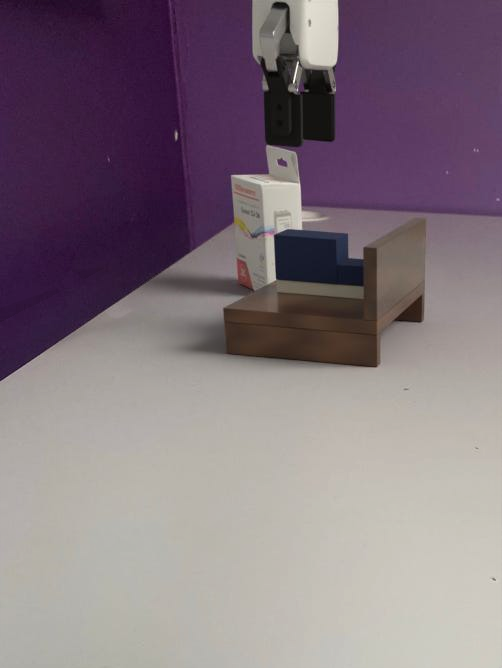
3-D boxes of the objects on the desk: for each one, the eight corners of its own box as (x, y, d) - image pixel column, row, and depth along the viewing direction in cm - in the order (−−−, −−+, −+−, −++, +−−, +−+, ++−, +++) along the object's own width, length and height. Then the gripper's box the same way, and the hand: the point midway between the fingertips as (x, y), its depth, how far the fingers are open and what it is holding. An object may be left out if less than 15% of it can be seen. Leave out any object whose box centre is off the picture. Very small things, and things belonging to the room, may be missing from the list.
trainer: (276, 292, 98) (273, 234, 96) (289, 285, 102) (287, 228, 99) (368, 300, 97) (368, 241, 95) (379, 292, 101) (379, 235, 98)
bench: (226, 353, 93) (217, 235, 89) (296, 309, 111) (292, 208, 106) (377, 367, 92) (376, 248, 87) (424, 319, 109) (426, 218, 104)
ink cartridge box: (235, 283, 121) (226, 144, 114) (274, 280, 123) (268, 144, 116) (266, 297, 115) (258, 151, 108) (306, 294, 117) (301, 151, 110)
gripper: (288, -77, 93) (292, 135, 101) (214, -108, 78) (225, 144, 86) (369, -72, 92) (367, 142, 100) (310, -102, 77) (313, 152, 85)
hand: (301, 143), depth 93 cm, fingers open, 9 cm apart
